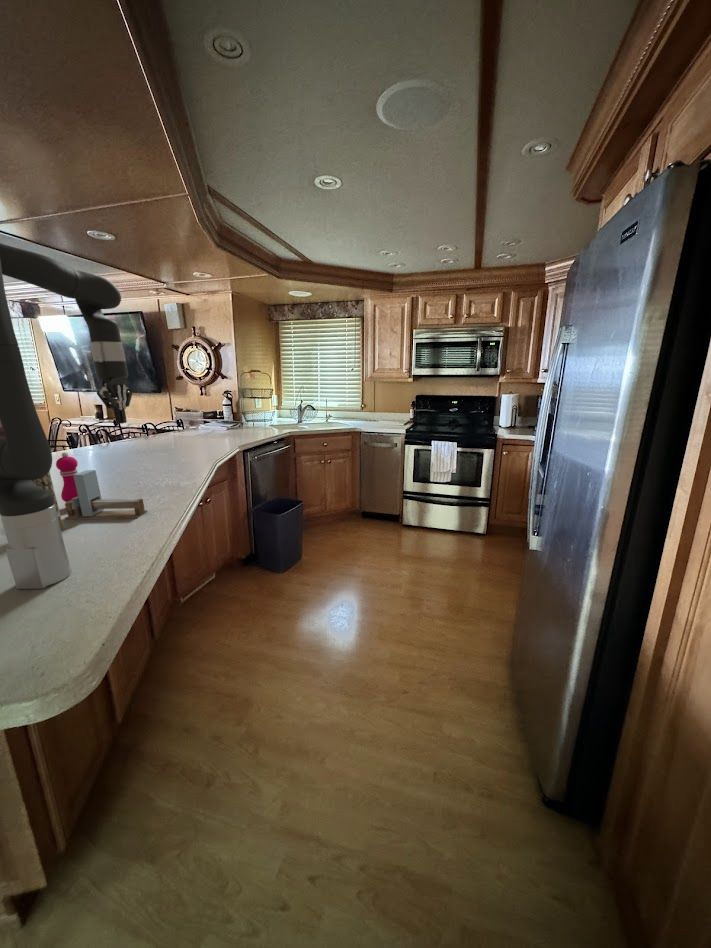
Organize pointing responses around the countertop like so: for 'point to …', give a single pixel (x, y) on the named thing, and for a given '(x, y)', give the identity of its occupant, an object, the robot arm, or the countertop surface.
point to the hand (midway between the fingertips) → (121, 423)
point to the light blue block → (87, 491)
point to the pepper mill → (68, 476)
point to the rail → (110, 513)
